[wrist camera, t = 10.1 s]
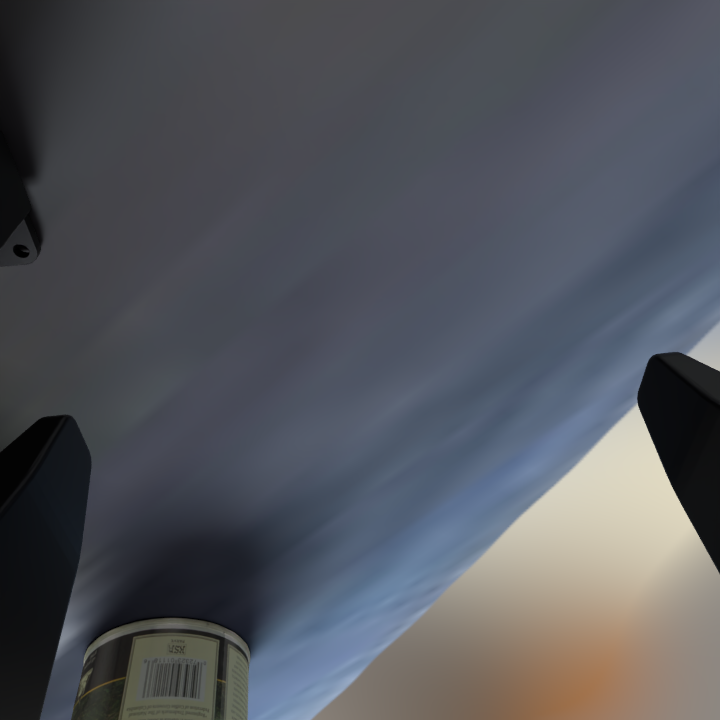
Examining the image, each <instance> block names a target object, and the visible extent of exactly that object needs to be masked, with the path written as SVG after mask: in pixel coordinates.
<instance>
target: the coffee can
mask: <svg viewBox="0 0 720 720" xmlns="http://www.w3.org/2000/svg"><path fill="white" fill-rule="evenodd" d="M249 663H250V651H249V648H248V646H247V644H246V643H245V642H244V641H243V640H242V639H241V637H240V636H238V635H237V634H236V633H234V632H233V631H231V630H228V629H227V628H225V627H222V626H220V625H218V624H214V623H211V622H207V621H200V620H194V619H187V618H158V619H150V620H142V621H136V622H134V623H130V624H126V625H123V626H120V627H117V628H115V629H112V630H110V631H108V632H106V633H105V634H103V635H102V636H100V637H99V638H97V639H96V640H95V641H94V642H93V643H92V644H91V645H90V646H89V647H88V649H87V651H86V653H85V657H84V666H83V670H82V675H81V679H80V683H79V688H78V692H77V696H76V700H75V704H74V709H73V714H72V719H71V720H247V715H248V673H249Z"/></svg>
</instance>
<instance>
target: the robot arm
mask: <svg viewBox="0 0 720 720" xmlns="http://www.w3.org/2000/svg"><path fill="white" fill-rule="evenodd" d="M30 210H31V204H30V201H29V199H28V196H27V194H26V191H25V188H24V186H23V183H22V181H21V178H20V176H19V173H18V171H17V168H16V166H15V163H14V161H13V158H12V155H11V153H10V150H9V148H8V145H7V143H6V140H5V138H4V135H3V133H2V132H1V131H0V267H2V266H13V265H25V264H30V263H33V262H34V261H35V260H36V259H37V257H38V256H39V254H40V251H41V246H40V243H39V240H38V238H37V235H36V233H35V230H34V228H33V225H32V223H31V220H30V218H29V215H28V213H29V211H30ZM17 244H21V245H24V246H26V247H27V248H28V250H29V252H23V251H21V250H20V249H19V248H18V247H17ZM637 400H638V406H639V409H640V412H641V414H642V416H643V419H644V421H645V424H646V426H647V428H648V431H649V433H650V436H651V438H652V441H653V443H654V445H655V448H656V450H657V453H658V455H659V457H660V460H661V462H662V464H663V467H664V469H665V472H666V474H667V476H668V479H669V481H670V483H671V485H672V487H673V489H674V491H675V493H676V495H677V497H678V499H679V501H680V503H681V505H682V506H683V508H684V510H685V512H686V513H687V515H688V517H689V519H690V521H691V523H692V524H693V526H694V528H695V530H696V532H697V533H698V535H699V537H700V539H701V541H702V542H703V544H704V546H705V548H706V550H707V552H708V553H709V555H710V557H711V559H712V561H713V562H714V564H715V566H716V568H717V570H718V572H719V573H720V371H718V370H715V369H713V368H711V367H709V366H707V365H705V364H703V363H701V362H699V361H697V360H695V359H693V358H691V357H689V356H687V355H684V354H682V353H679V352H671V353H661V354H655V355H653V356H652V357H651V358H650V359H649V361H648V363H647V366H646V369H645V372H644V376H643V379H642V382H641V385H640V388H639V391H638V397H637ZM90 475H91V455H90V452H89V449H88V447H87V445H86V443H85V440H84V438H83V436H82V434H81V432H80V429H79V427H78V425H77V423H76V421H75V419H74V418H73V417H72V416H70V415H57V416H47V417H43V418H41V419H39V420H38V421H36V422H35V423H34V424H33V425H32V426H31V427H29V428H28V429H27V430H26V431H25V432H24V433H22V434H21V435H20V436H19V437H18V438H17V439H15V440H14V441H13V442H12V443H11V444H10V445H8V446H7V447H6V448H5V449H4V450H3V451H1V452H0V720H40V716H41V712H42V708H43V704H44V700H45V696H46V692H47V688H48V684H49V680H50V676H51V672H52V668H53V664H54V660H55V656H56V652H57V648H58V644H59V640H60V636H61V632H62V628H63V624H64V620H65V616H66V612H67V609H68V605H69V601H70V597H71V593H72V589H73V585H74V581H75V577H76V572H77V568H78V563H79V559H80V553H81V546H82V539H83V531H84V523H85V515H86V507H87V499H88V491H89V483H90Z"/></svg>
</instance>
